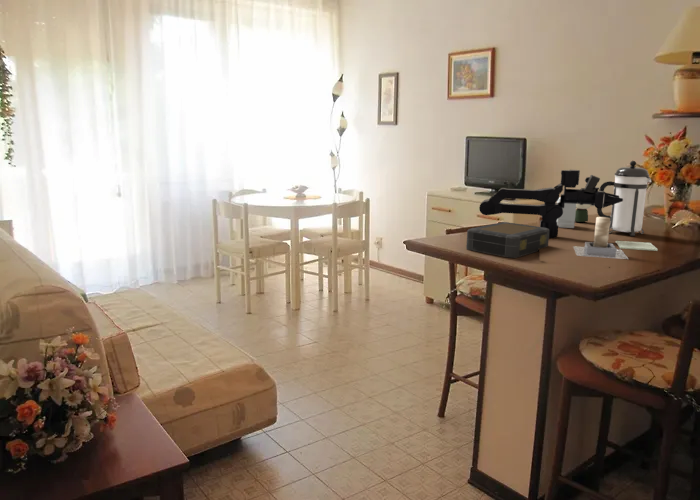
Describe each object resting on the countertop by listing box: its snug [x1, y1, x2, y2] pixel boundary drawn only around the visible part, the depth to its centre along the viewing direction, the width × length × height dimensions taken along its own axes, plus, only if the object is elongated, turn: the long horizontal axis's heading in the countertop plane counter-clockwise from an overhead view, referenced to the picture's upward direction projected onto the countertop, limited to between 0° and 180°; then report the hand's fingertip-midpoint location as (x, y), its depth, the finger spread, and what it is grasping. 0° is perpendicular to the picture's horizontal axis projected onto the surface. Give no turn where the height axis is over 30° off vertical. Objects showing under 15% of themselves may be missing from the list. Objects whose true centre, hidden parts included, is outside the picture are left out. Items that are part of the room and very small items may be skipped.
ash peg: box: [593, 216, 610, 247], centre depth 198 cm, size 4×4×12 cm
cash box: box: [465, 221, 550, 259], centre depth 208 cm, size 25×20×8 cm
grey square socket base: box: [572, 241, 629, 260], centre depth 199 cm, size 16×16×4 cm
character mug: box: [575, 204, 595, 223], centre depth 267 cm, size 11×7×13 cm, turn 47°
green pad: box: [615, 240, 658, 252], centre depth 211 cm, size 12×12×2 cm
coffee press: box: [596, 160, 652, 238], centre depth 239 cm, size 17×16×30 cm
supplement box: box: [556, 196, 577, 229], centre depth 255 cm, size 7×7×13 cm
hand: (620, 198), depth 222 cm, fingers open, 9 cm apart
